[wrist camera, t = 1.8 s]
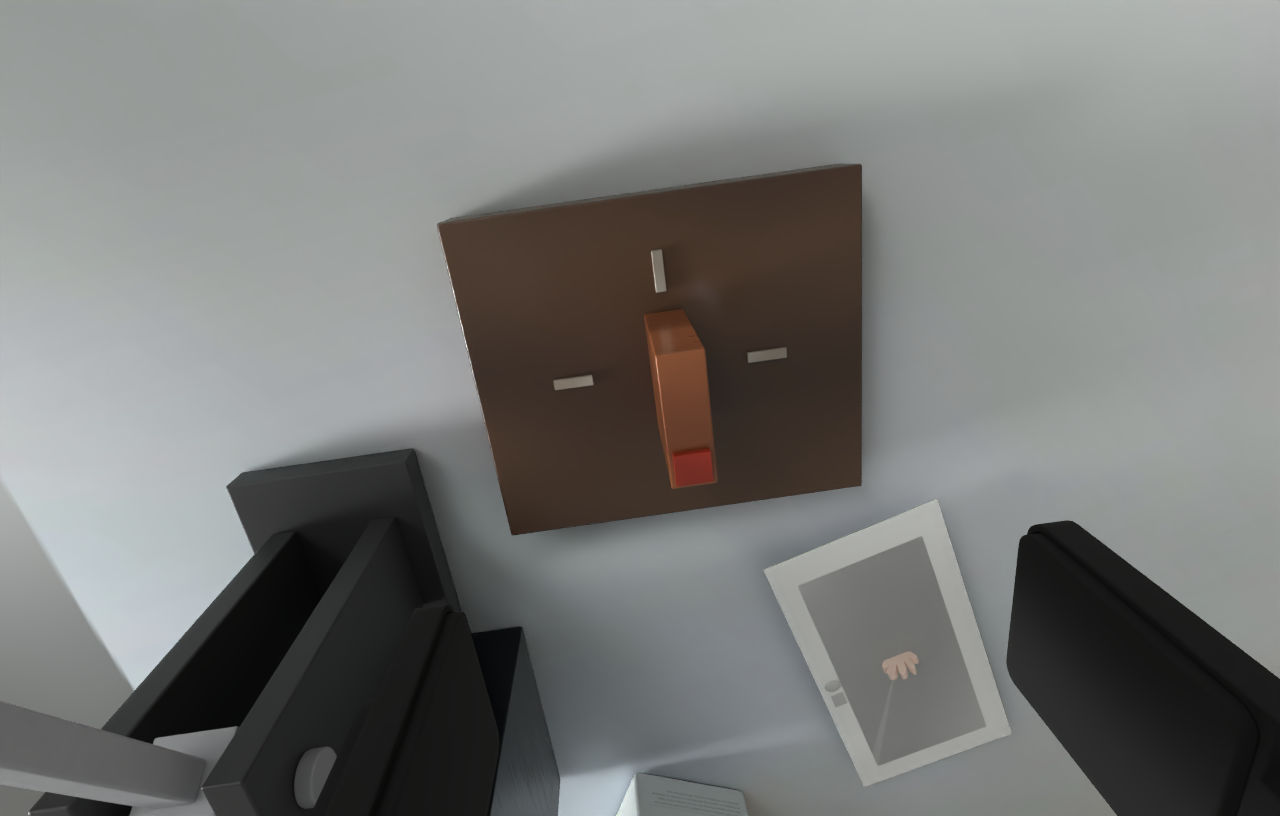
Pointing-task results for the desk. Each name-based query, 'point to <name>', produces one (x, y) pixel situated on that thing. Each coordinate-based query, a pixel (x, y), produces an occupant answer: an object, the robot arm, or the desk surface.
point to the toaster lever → (109, 763)
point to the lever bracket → (293, 632)
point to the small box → (679, 798)
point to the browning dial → (618, 351)
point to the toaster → (517, 728)
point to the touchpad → (893, 643)
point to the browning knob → (681, 398)
